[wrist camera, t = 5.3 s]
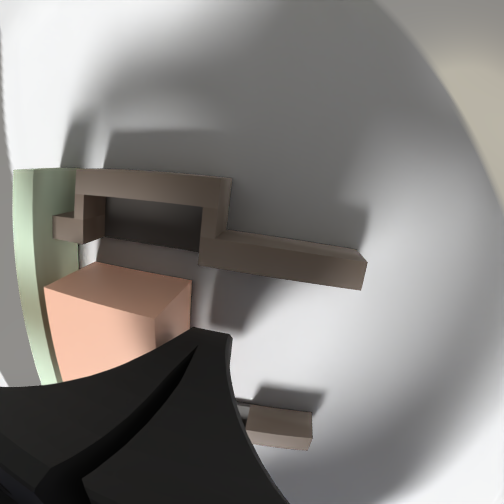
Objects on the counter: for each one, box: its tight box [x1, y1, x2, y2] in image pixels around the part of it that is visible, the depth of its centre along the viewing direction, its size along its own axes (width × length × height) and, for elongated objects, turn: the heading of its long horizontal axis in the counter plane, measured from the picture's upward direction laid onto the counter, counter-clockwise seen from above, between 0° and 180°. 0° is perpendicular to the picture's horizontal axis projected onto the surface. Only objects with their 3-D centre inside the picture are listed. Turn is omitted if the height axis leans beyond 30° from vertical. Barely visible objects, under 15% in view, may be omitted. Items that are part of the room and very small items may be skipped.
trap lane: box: [13, 168, 368, 451], centre depth 9 cm, size 11×11×2 cm
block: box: [44, 262, 192, 382], centre depth 9 cm, size 4×4×3 cm
